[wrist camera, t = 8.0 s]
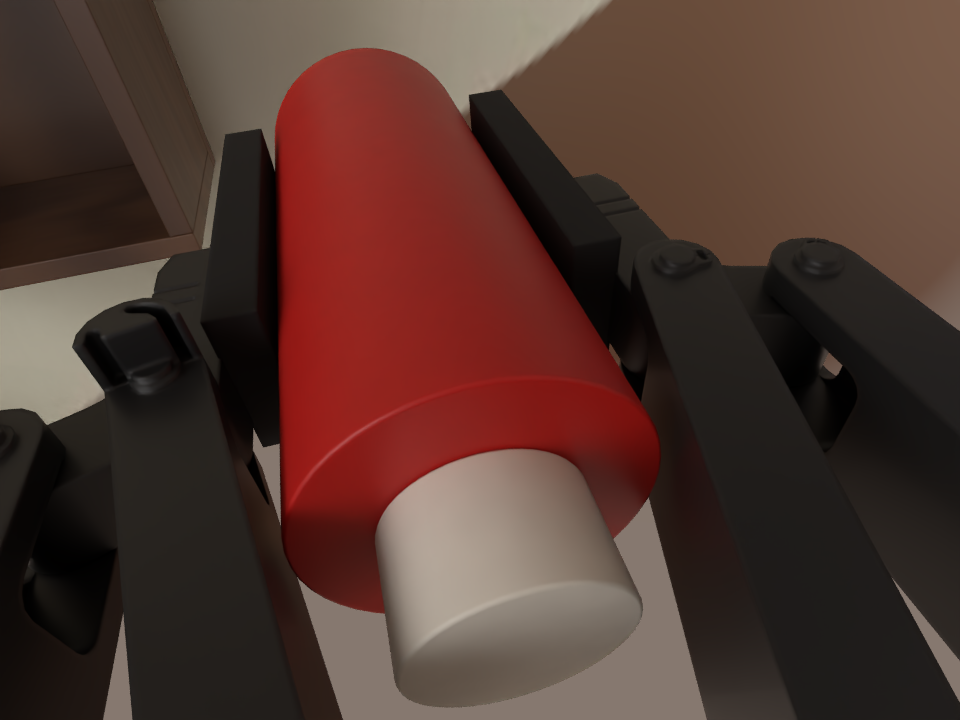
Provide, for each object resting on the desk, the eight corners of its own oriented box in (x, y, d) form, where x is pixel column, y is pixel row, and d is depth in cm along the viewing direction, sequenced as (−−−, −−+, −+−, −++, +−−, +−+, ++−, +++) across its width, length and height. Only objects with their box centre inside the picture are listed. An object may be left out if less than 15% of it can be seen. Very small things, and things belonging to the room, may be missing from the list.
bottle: (452, 33, 14) (796, 459, 5) (467, 212, 17) (692, 669, 8) (247, 63, 13) (199, 619, 4) (304, 243, 16) (346, 779, 7)
